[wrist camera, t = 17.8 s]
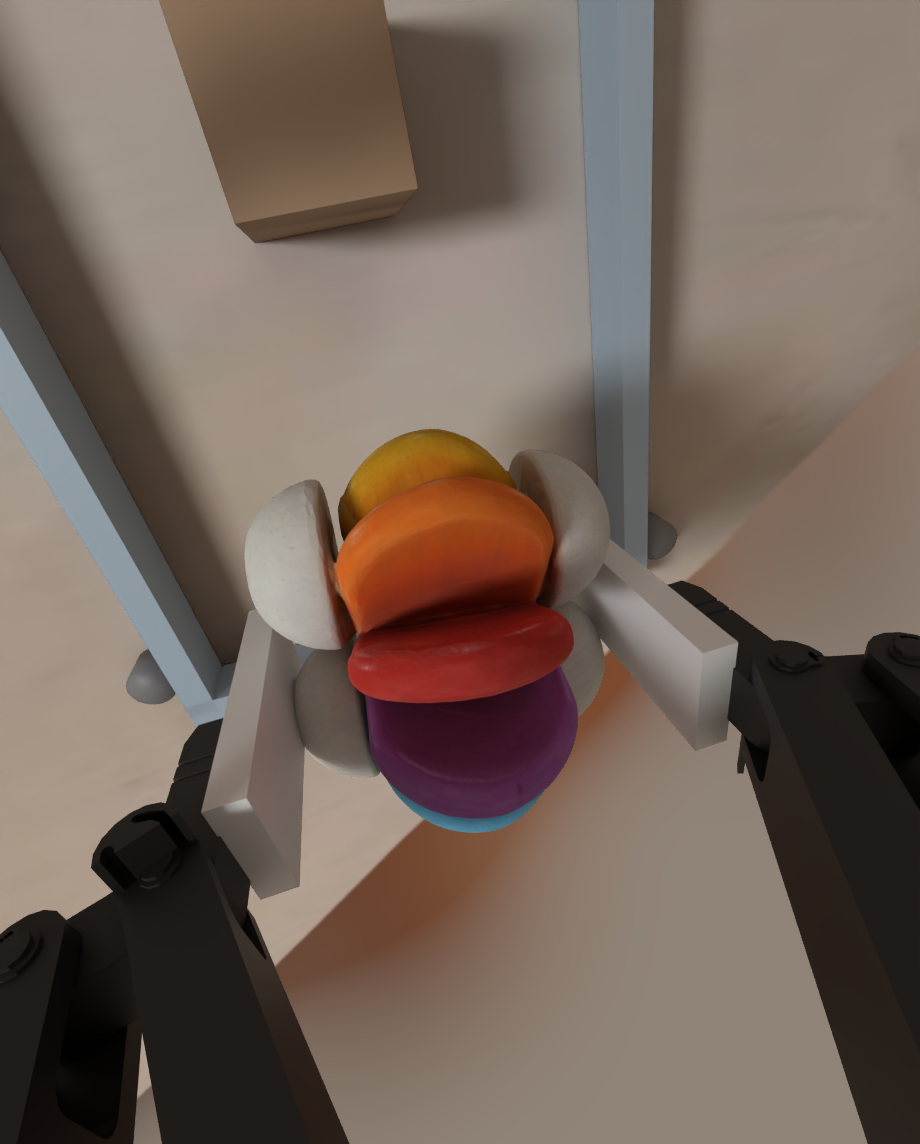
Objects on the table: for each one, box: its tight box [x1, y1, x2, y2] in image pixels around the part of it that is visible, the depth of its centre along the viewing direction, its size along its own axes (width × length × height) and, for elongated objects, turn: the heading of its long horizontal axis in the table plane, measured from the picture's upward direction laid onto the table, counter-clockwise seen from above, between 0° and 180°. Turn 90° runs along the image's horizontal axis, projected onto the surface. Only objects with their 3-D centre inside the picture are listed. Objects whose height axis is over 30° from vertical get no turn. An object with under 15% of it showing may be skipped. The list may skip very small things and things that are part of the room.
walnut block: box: [159, 0, 418, 243], centre depth 15 cm, size 5×5×5 cm
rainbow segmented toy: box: [244, 429, 610, 832], centre depth 12 cm, size 8×10×7 cm
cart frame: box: [0, 0, 677, 727], centre depth 19 cm, size 28×27×2 cm
